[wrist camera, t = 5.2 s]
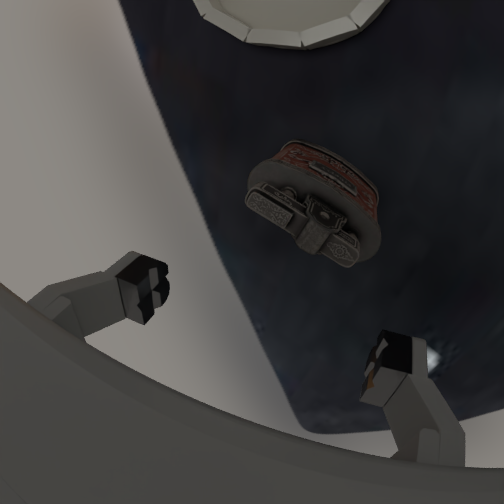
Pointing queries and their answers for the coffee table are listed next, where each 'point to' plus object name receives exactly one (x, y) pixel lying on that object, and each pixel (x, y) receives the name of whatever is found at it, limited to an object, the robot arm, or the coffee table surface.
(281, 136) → the coffee table surface
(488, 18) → the coffee table surface
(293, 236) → the lighter
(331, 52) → the coffee table surface
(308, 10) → the ring dish
